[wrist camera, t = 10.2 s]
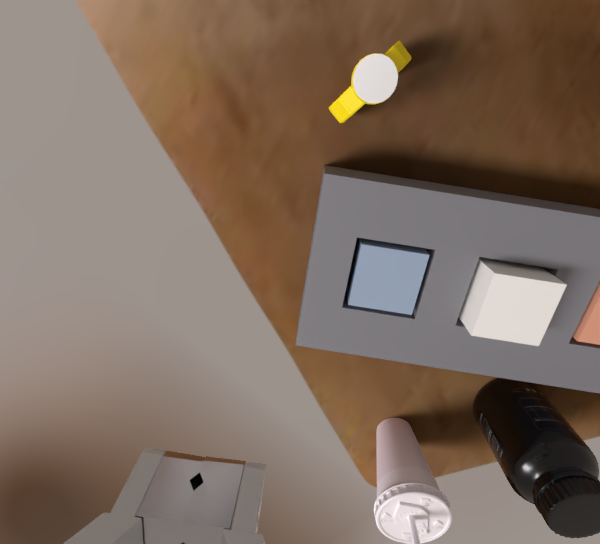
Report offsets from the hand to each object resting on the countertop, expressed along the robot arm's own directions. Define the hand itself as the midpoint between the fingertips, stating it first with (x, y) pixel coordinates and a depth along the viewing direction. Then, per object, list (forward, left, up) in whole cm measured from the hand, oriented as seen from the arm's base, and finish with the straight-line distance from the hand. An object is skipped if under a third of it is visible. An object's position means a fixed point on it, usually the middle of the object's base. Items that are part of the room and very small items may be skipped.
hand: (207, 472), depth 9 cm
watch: (-11, +4, -25) cm, 28 cm away
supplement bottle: (+15, +24, -25) cm, 38 cm away
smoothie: (+21, +14, -25) cm, 36 cm away
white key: (+2, +17, -22) cm, 28 cm away
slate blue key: (+2, +8, -24) cm, 25 cm away
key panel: (+2, +17, -25) cm, 30 cm away
